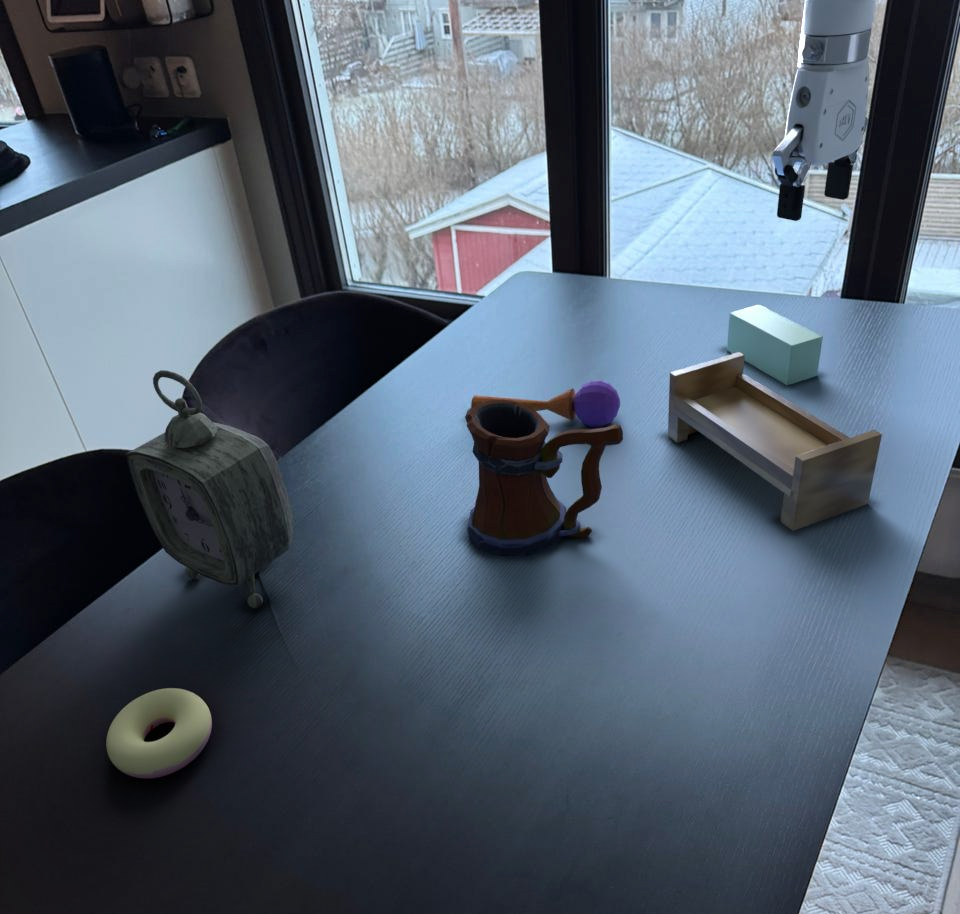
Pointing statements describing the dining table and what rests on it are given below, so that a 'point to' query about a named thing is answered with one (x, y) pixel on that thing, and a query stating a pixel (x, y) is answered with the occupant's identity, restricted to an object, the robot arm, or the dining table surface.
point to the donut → (167, 751)
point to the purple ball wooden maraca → (575, 403)
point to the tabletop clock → (212, 495)
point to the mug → (527, 478)
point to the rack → (774, 439)
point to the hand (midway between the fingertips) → (812, 208)
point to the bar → (774, 344)
